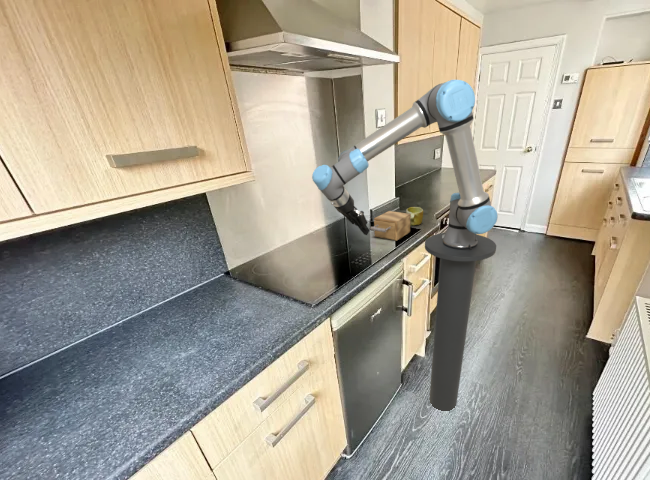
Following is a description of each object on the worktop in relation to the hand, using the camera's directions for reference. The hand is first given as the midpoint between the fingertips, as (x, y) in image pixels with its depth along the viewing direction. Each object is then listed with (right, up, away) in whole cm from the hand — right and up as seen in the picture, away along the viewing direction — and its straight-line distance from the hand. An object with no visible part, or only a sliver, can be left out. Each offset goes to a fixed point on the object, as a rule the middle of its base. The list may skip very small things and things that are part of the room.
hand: (366, 232), depth 140 cm
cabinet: (+13, +3, +22) cm, 26 cm away
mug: (+26, +10, +35) cm, 45 cm away
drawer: (+10, +2, +18) cm, 21 cm away
